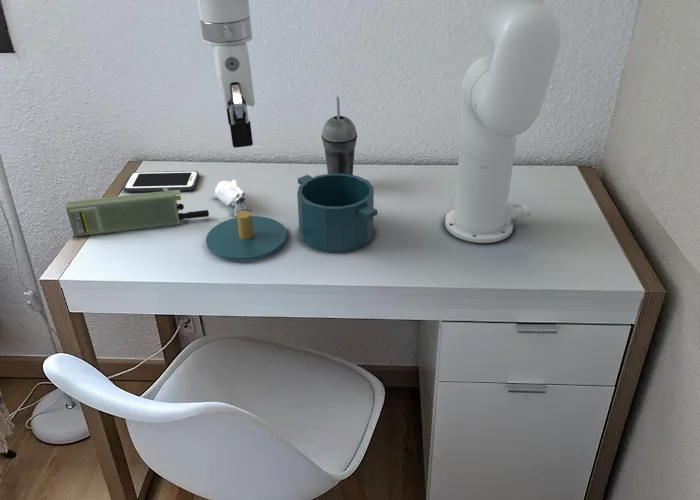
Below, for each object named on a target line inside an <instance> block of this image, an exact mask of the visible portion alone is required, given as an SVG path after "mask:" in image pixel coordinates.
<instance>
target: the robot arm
mask: <svg viewBox="0 0 700 500" xmlns="http://www.w3.org/2000/svg"><path fill="white" fill-rule="evenodd" d="M196 2H197V8H198V15H199V23H200V29H201V35H202V42H203V43H204V44H205V45H208V46H211V47H212V54H213V62H214V68H215V73H216V79H217V83H218V87H219V88H218V89H219V91H220V95H221V99H222V103H223V106H224V108H225V109H226V115H227V121H228V125H229V129H230V137H231V143H232V147H233V148H235V149H236V148H237V149H238V148H245V147H252V146H253V145H254V142H253V141H254V140H253V133H252V124H251V121H250V119H249V114H248V113H249V111H248V106H250V107H251V108H252V107H255V105H256V101H255V94H254V86H253V78H252V69H251V62H250V56H249V55H250V54H249V49H248V44H247V43H248V42H250V41H252V40H253V31H252V21H251V11H250V1H249V0H196ZM480 23H481V26H480V27H481V32H482V37H483V39H484V40H485V41H486V43H487V44H488V45H489V47H490V48H491V49H493V55H486V56H483V57H481V58H480V57H479V58H478V59H477V60H475V61H474V62H473V63H472V64H471V65H470V66H469V67H468V69H467V70H466V72H465V74H464V75H463V79H462V82H461V89H460V90H461V92H460V103H461V104H460V106H461V125H460V126H461V127H460V142H459V151H458V164H457V176H456V185H455V186H456V187H455V199H454V200H455V201H454V209H452V210H450V211H449V212H448V213H447V214H446V216H445V218H444V226H445V228H446V230H447V232H449V233H450V234H451V235H453V236H454V237H455V238H458V239H459V240H463V241H465V242H469V243H476V244H492V243H497V242H500V241H503V240H505V239H507V238H508V237H510V235H511V234H512V232H513V229H514V222H513V220H515V219H516V218H519V217H521V218H522V217H530V216H531V215H532V208H531V206H530V205H522V206H520V204H519V201H510V202H509V197H510V196H509V194H510V188H511V182H512V175H513V167H514V160H515V153H516V145H517V136H518V135H521V134H523V133H524V132H526V131H527V130H528V129H530V127H531V126H532V125H533V124H535V122H536V121H537V118H538V117H539V115H540V113H541V110H542V108H543V105H544V102H545V98H546V95H547V93H548V92H547V91H548V88H549V85H550V82H551V78H552V75H553V71H554V67H555V65H556V61H557V58H558V54H559V50H560V45H561V25H560V22H559V18H558V16H557V15H556V13H555V11H554V10H553V9H552V8H551V7H550V6H549V5H548V4H546V3H545V0H486V3H485V6H484V9H483V13H482V17H481V22H480Z"/></svg>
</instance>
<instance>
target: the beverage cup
mask: <svg viewBox="0 0 700 500" xmlns="http://www.w3.org/2000/svg"><path fill="white" fill-rule="evenodd" d="M340 108H341V107H340V96H337V97H336V115H335V116H331V118H328V120H327V121H326V122H325V123H324V125H323V127H322V131H321V139H322V145H323V148H324V154H325V155H324V156H325V162H326V169H327V170H326V171H327V174H330V173H341V174H350V175H354V174H353V173H354V161H355V149H356V145H357V138H358V133H357V128H356V126H355V125H356V124H354V122H353V121H352V120H351V119H350V118H348V117H347V116H345V115H341V111H340Z"/></svg>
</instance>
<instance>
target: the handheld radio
mask: <svg viewBox="0 0 700 500" xmlns="http://www.w3.org/2000/svg"><path fill="white" fill-rule="evenodd" d="M180 194H181V191H180V190H171V191H152V192H144V193H136V194H127V195H126V194H125V195H117V196H116V195H115V196H109V197H99V198H89V199H82V200H81V199H80V200H72V201H70V200H69V201H66V202H65V210H66V213H67V217H68V220H69V223H70V226H71V230H72V233H73V236H74V237H84V236H92V235H93V236H94V235H101V234H110V233H117V232H126V231H127V232H128V231H135V230H145V229H152V228H153V229H154V228H161V227H169V226H177V225H180V224H181V225H182V224H185V223H186V220H187V219H188V220H189V219H197V218H206V217H207V218H208V217H209V215H210V213H209V210H208V209H204V210H203V209H202V210H195V211H188V212H184V213H183V212H179V211H183V210H184V209H185V205H184V204H183V203H178V202H177V201H181V200H182V196H181V195H180Z"/></svg>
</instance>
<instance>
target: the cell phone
mask: <svg viewBox="0 0 700 500" xmlns="http://www.w3.org/2000/svg"><path fill="white" fill-rule="evenodd" d="M199 176H200V174H199V171H197V170H173V171H170V170H169V171H167V170H166V171H134V172H131V173H130V175H129V177H128V178H127V180H126V182H125V183H124V185H123V191H124V192H127V193H129V192H133V193H135V192H136V193H137V192H162V191H171V190H180V192H181V191H192V190H194V189H195V188H196V184H197V182H198V180H199V178H200V177H199Z"/></svg>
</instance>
